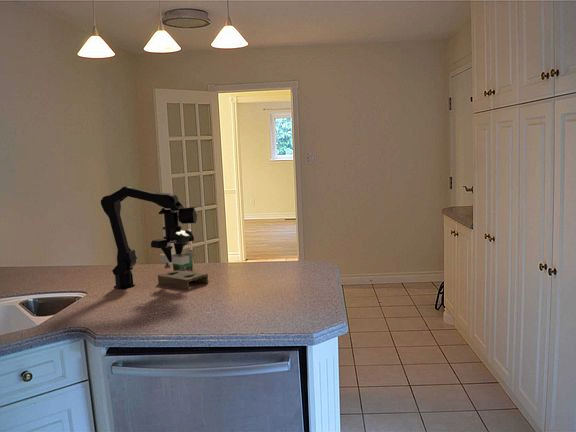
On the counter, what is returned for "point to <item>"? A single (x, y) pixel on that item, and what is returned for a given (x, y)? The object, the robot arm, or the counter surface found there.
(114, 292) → the counter surface
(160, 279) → the keyhole board
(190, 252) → the food container
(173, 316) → the counter surface
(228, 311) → the counter surface
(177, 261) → the power strip
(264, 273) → the counter surface
